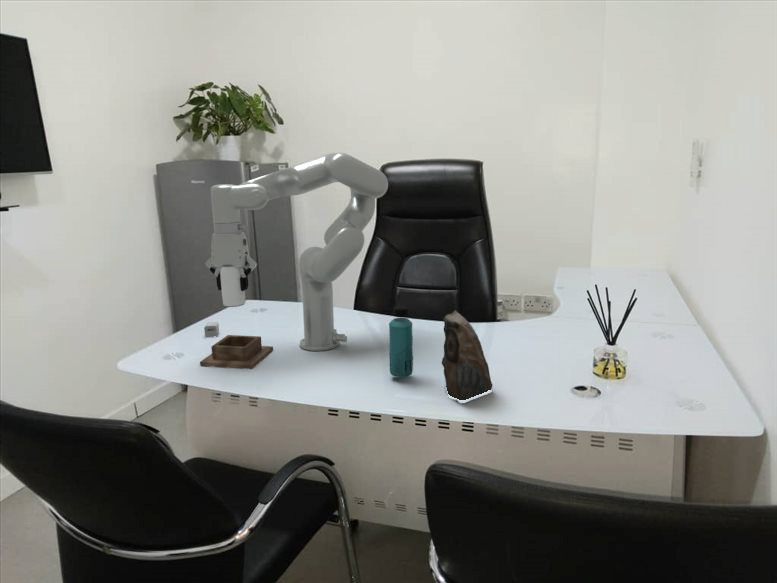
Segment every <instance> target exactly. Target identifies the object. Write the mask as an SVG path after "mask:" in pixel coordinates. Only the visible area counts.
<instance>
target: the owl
mask: <svg viewBox="0 0 777 583" xmlns="http://www.w3.org/2000/svg"><path fill="white" fill-rule="evenodd" d="M442 321H443V322H444V323H443V324H444V326H443V333H444V337H445V339H444V343H443V357H442V359H441V364H442V366H443V375H444V380H445V386H446V387H447V390H446V391H448V394H449V395H450V396H452V397H454V398H457V399H459V400H466V399H469V398H471V397H474V396H476V395H479V394H482V393H484V392H487V391H488V390H491V389H492V390H493V382H492V379H491V374H490V367H489V364H488V362H487V359H486V357H485V354H484V350H483V346H482V343H481V341H480V339H479V336H478V334H477V333H476V331H475V329H474V328H473V326H472V324H471V323H470V322H469V321H468V320H467V319H466V318H465V317H464V316H463V315H462V314H460V313H459V312H458V311H457V310H453V311H452V313H449V314H448V313H447V314H446V315H445V316H444V317H443V319H442ZM448 394H447V395H448Z"/></svg>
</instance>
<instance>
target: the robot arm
mask: <svg viewBox="0 0 777 583" xmlns="http://www.w3.org/2000/svg"><path fill="white" fill-rule="evenodd" d="M334 183H340V184H342V185H345V186H346V187H348V188H349V189H350V199H349V202H348V204H347V206H346V207H345V209H344V210H343V211H342V212H341V213H340V214H339V215H338V216H337V218H336V219H335V220H334V221H333V222H332V223H331V224H330V225H329V227H327V229H326V230H325V232H324V235H323V240H324V243H325V246H324V247H323V248H322V247H320V246H311V247H308V248H306V249H304V250H303V252H302V253H301V255H300V257H299V259H298V260H299V261H298V269H299V275H300V280H301V281H300V283H301V294H302V313H303V336H304V337H303V338H302V339H301V340H300V341H299V347H300V348H302V349H303V350H307V351H313V352H319V351H320V352H321V351H327V350H332V349H335V348H337V347H338V346H339V345H340V342H343V343H346V342H348V336H347V335H346V334H345V333H338V332H337V331H338V330H337V328H336V329H335V324H334V323H335V322H334V320H335V319H334V290H333V282H334V281H335V280H337V279H338V278H340V276H341V275H342V274H343V273H344V272H345V271H346V269H347V268H348V267H349V266H350V265H351V264H352V263H353V261H355V259H356V258H358V256H359V255H360V253H361V252H362V250H363V248H364V244H365V235H364V232H363V231H364V230H365V229H366V227H367V226H368V224H369V223H370V222H371V220H372V219H373V216H374V214H375V211H376V210H375V208H376V199H379V198H382V197H383V196H384V195H385V194H386V193H387V191H388V188H389V181H388V178H387V176H386V175H385V173H383V171H381V170H379V169H377V168H376V167H373V166H372V165H370V164H368V163H365V162H363V161H362V160H360V159H357V158H355V157H354V156H352V155H350V154H347V153H343V152H333V153H328V154H325V155H321V156H318V157H315V158H313V159H310V160H307V161H304V162H300V163H298V164H294V165H292V166H289V167H286V168H283V169H280V170H278V171H274V172H271V173H268V174H265V175H261V176H259V177H255V178H253V179H250V180H247V181H244V182H241V183H240V184H238V185H235V184H232V183H230V184H228V183H227V184H222V183H221V184H215V185H212V186H211V187H210V199H211V200H210V201H211V210H212V211H211V212H212V219H213V221H212V222H213V233H212V236H211V243H210V244H211V245H210V246H211V248H210V249H211V250H210V251H211V252H210V253H211V256H210V257H209V258H208V259H207V260H206V261H205V262H204V265H205V267H206V268H208V269H209V271H210V272H211V273H212V274H213V277H215V279H216V287H217V290H218V291H222V289H221V278H220V269H221V268H222V266H234V268H238V270H239V272H240V274H241V278H240V285H241V291H245V292H246V290H248V289H249V288H248V287H249V275H250V274H251V273H252V272H253V271H254V269H255V268H256V267H257V266H258V263H257V262H256V261H255V260H254V259H253V258H252V257H251V256H250V255H251V254H250V249H249V244H248V240H247V237H246V233H245V232H244V231H243V230H246V229H247V228H246V227H247V226H246V224H242V219H241V217H242V216H241V210H250V211H257V210H258V211H259V210H260V209H263V208H265V206H266V205H267V203H268V202H269V201H271V200H275V199H278V198H283V197H291V196H292V197H293V196H298V195H303V194H306V193H308V192H312V191H315V190H317V189H319V188H322V187H325V186H328V185H331V184H334ZM242 231H243V232H242ZM247 266H249V267H247Z"/></svg>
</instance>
